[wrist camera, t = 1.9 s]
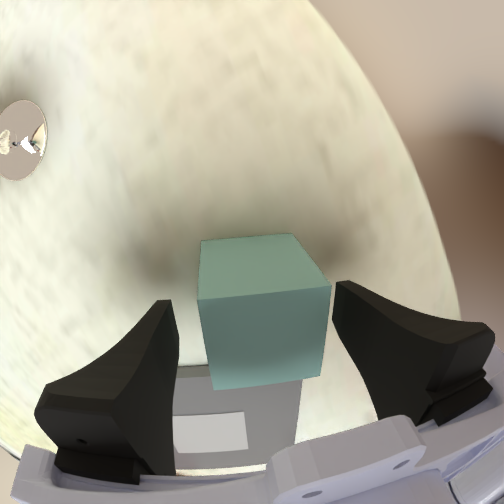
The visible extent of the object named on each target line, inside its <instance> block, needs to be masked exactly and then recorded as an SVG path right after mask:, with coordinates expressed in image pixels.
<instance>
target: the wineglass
mask: <svg viewBox="0 0 504 504" xmlns="http://www.w3.org/2000/svg"><path fill="white" fill-rule="evenodd" d="M46 142H47V125H46V121H45V117H44V115H43V113H42V111H41V109H40V108H39V107H38V106H37V105H36V104H35V103H33V102H32V101H28V100H20V101H16V102H14V103H12V104H11V105H9V106H8V107H7V108H6V109H5V110H4V111H3V112H2V113H1V115H0V175H1V176H3V177H4V178H6V179H8V180H11V181H20V180H23V179H25V178H27V177H29V176H30V175H31V174H32V173H33V172H34V171H35V170H36V168H37V167H38V165H39V163H40V162H41V159H42V157H43V154H44V151H45V147H46Z"/></svg>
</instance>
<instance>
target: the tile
mask: <svg viewBox="0 0 504 504" xmlns="http://www.w3.org/2000/svg"><path fill="white" fill-rule="evenodd" d="M301 388H302V379H300V380H294V381H288V382H282V383H275V384H268V385H261V386H253V387H245V388H235V389H225V390H214V389H213V384H212V380H211V375H210V370H209V365H205V366H190V367H177V374H176V382H175V389H174V396H173V445H174V459H175V469H216V468H230V467H241V466H251V465H259V464H266V463H268V462H269V460H270V458H271V457H272V456H273V455H274V454H275V453H277V452H279V451H281V450H282V449H284V448H286V447H288V446H291V445H294V442H295V435H296V428H297V420H298V413H299V405H300V397H301Z"/></svg>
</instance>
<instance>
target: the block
mask: <svg viewBox="0 0 504 504" xmlns="http://www.w3.org/2000/svg"><path fill="white" fill-rule="evenodd" d="M331 287H332V285H331V284H330V282H329V281H328V280H327V278H326V277H325V276H324V274H323V273H322V272H321V270H320V269H319V268H318V266H317V265H316V264H315V263H314V261H313V260H312V259H311V257H310V256H309V255H308V253H307V252H306V251H305V250H304V248H303V247H302V246H301V244H300V243H299V242H298V241H297V239H296V238H295V237H294V235H293V234H292V233H286V234H274V235H261V236H249V237H238V238H226V239H215V240H204V241H201V252H200V265H199V279H198V294H197V302H198V308H199V314H200V320H201V326H202V332H203V338H204V343H205V349H206V354H207V359H208V365H209V370H210V375H211V380H212V384H213V389H214V390H225V389H235V388H245V387H253V386H261V385H268V384H275V383H282V382H288V381H294V380H300V379H306V378H311V377H316V376H320V372H321V366H322V359H323V353H324V346H325V338H326V331H327V323H328V315H329V306H330V296H331Z"/></svg>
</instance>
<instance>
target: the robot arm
mask: <svg viewBox="0 0 504 504" xmlns="http://www.w3.org/2000/svg"><path fill="white" fill-rule="evenodd" d="M332 321H333V323H334V326H335V329H336V331H337V333H338V336H339V338H340V339H341V341H342V343H343V345H344V346H345V348H346V350H347V351H348V353H349V355H350V357H351V358H352V360H353V362H354V363H355V365H356V367H357V368H358V370H359V372H360V374H361V376H362V378H363V380H364V382H365V384H366V387H367V389H368V392H369V394H370V397H371V399H372V402H373V405H374V408H375V410H376V413H377V417H378V420H379V421H376V422H373V423H370V424H367V425H364V426H360V427H357V428H354V429H350V430H347V431H343V432H340V433H336V434H332V435H328V436H324V437H320V438H316V439H311V440H307V441H304V442H300V443H297V444H294V445H291V446H288V447H286V448H284V449H282V450H281V451H279V452H277V453H275V454H274V455H273V456H272V457H271V458H270V460H269V462H268V463H267V465H266V470H263V471H256V472H247V473H238V474H226V475H210V476H176V470H175V459H174V445H173V396H174V389H175V382H176V374H177V367H178V360H179V334H178V330H177V325H176V321H175V316H174V312H173V307H172V302H171V299H170V300H157V301H156V302H155V303H154V304H153V306H152V307H151V308H150V309H149V310H148V311H147V313H146V314H145V315H144V316H143V317H142V318H141V320H140V321H139V322H138V323H137V324H136V325H135V326H134V327H133V328H132V329H131V330H130V331H129V332H128V333H127V334H126V335H125V336H124V337H123V338H122V339H121V340H120V341H119V342H118V343H117V344H116V345H115V346H113V347H112V348H111V349H110V350H108V351H107V352H106V353H105V354H103V355H102V356H100V357H99V358H97V359H96V360H94V361H93V362H91V363H90V364H88V365H87V366H85V367H83V368H82V369H80V370H78V371H76V372H74V373H72V374H70V375H68V376H66V377H63V378H61V379H59V380H56V381H54V382H51V383H49V384H46V386H45V388H44V390H43V392H42V394H41V397H40V399H39V401H38V403H37V406H36V408H35V411H34V416H35V419H36V421H37V423H38V424H39V426H40V427H41V429H42V430H43V431H44V432H45V433H46V434H47V435H48V437H49V438H50V439H51V440H52V441H53V442H54V443H55V444H56V445H57V446H58V451H57V454H55V453H53V452H51V451H49V450H46V449H43V448H39V447H35V446H32V445H28V444H26V445H25V447H24V450H23V453H22V456H21V460H20V463H19V466H18V469H17V472H16V476H15V480H14V483H13V487H12V491H11V495H10V496H11V497H12V498H13V499H14V500H16V501H17V502H19V503H20V504H504V353H503V352H502V351H501V350H500V349H499V348H498V347H497V346H496V345H495V344H494V342H495V334H494V332H493V331H492V330H491V329H490V328H489V327H488V326H487V325H486V324H484V323H482V322H464V321H456V320H450V319H444V318H439V317H435V316H431V315H427V314H424V313H421V312H418V311H415V310H412V309H409V308H407V307H404V306H402V305H399V304H397V303H395V302H393V301H390V300H388V299H386V298H384V297H382V296H380V295H378V294H376V293H374V292H372V291H370V290H368V289H366V288H364V287H362V286H360V285H358V284H356V283H354V282H352V281H349V280H347V281H340V282H336V289H335V298H334V307H333V315H332Z"/></svg>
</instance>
